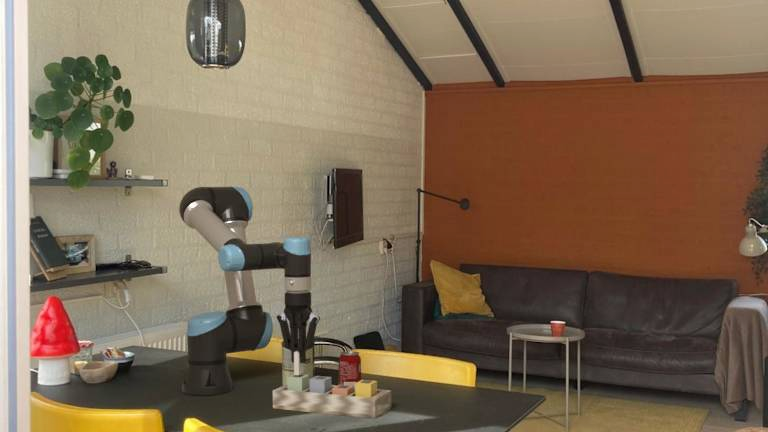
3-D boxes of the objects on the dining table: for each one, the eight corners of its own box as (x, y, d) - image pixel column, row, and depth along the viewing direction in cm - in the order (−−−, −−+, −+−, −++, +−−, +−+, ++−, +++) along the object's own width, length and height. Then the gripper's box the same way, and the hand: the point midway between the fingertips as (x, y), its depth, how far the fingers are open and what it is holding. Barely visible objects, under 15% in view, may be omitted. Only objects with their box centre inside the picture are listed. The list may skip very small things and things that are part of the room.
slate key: (309, 396, 237) (309, 378, 237) (317, 393, 241) (316, 375, 241) (324, 398, 235) (324, 379, 235) (331, 394, 239) (331, 376, 239)
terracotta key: (332, 406, 234) (332, 387, 234) (339, 402, 239) (339, 384, 238) (347, 407, 233) (347, 388, 232) (354, 403, 237) (354, 385, 237)
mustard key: (355, 401, 232) (355, 382, 231) (362, 397, 236) (361, 379, 236) (370, 402, 230) (370, 383, 230) (377, 398, 234) (377, 380, 234)
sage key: (287, 394, 239) (287, 376, 239) (295, 391, 244) (295, 373, 244) (302, 396, 238) (301, 377, 238) (309, 392, 242) (309, 374, 242)
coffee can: (292, 381, 270) (292, 337, 270) (321, 384, 266) (320, 340, 265) (275, 388, 261) (275, 343, 260) (304, 391, 256) (304, 345, 256)
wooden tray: (272, 408, 237) (272, 390, 237) (292, 398, 248) (292, 381, 248) (374, 418, 226) (374, 400, 225) (391, 408, 237) (391, 390, 237)
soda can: (358, 395, 252) (358, 355, 251) (336, 394, 253) (336, 354, 253) (363, 390, 258) (363, 351, 258) (341, 389, 260) (341, 350, 259)
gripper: (271, 292, 239) (272, 375, 239) (312, 293, 234) (313, 378, 234) (283, 289, 246) (284, 370, 246) (324, 290, 241) (325, 373, 241)
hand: (298, 374), depth 240 cm, fingers closed
